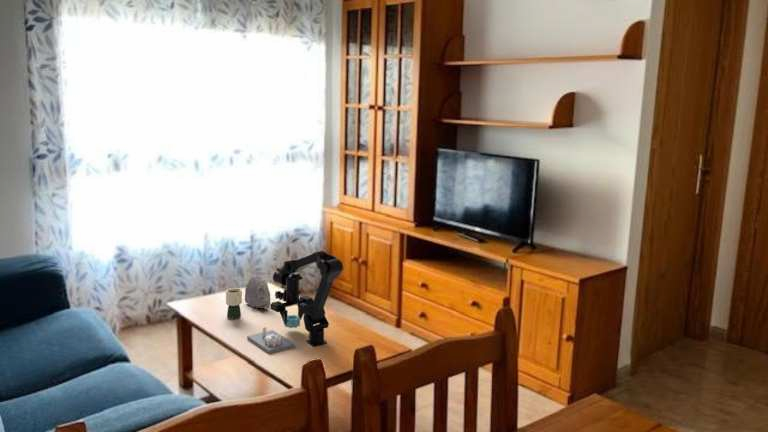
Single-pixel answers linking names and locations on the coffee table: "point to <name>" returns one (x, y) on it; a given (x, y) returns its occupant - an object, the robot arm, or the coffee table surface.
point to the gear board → (269, 348)
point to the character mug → (233, 302)
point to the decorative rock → (257, 293)
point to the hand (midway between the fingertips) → (292, 322)
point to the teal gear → (292, 321)
